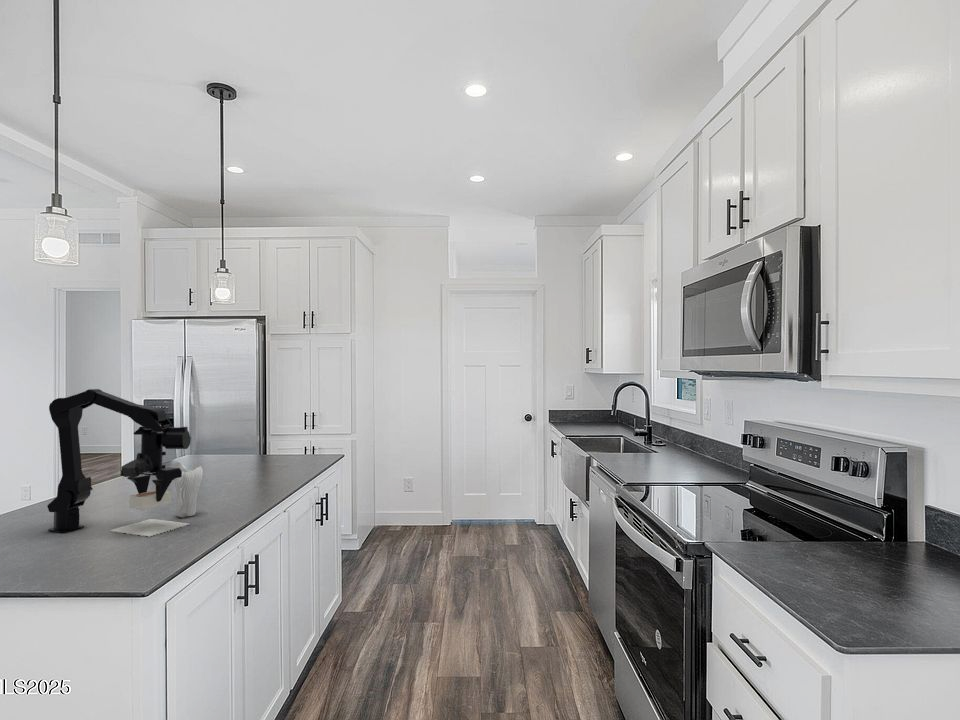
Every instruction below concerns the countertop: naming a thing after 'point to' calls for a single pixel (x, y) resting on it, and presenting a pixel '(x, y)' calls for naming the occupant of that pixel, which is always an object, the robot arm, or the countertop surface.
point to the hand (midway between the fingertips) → (150, 500)
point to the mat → (149, 527)
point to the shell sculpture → (187, 490)
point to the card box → (148, 500)
